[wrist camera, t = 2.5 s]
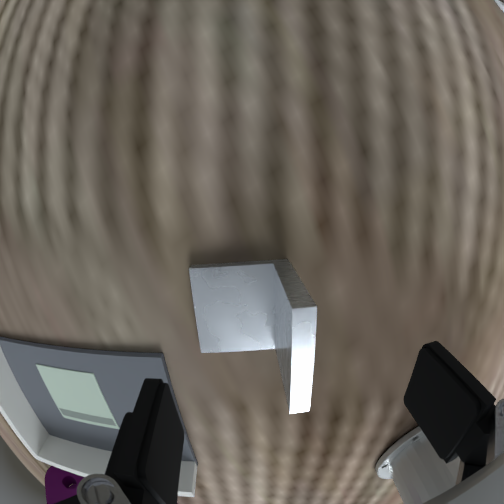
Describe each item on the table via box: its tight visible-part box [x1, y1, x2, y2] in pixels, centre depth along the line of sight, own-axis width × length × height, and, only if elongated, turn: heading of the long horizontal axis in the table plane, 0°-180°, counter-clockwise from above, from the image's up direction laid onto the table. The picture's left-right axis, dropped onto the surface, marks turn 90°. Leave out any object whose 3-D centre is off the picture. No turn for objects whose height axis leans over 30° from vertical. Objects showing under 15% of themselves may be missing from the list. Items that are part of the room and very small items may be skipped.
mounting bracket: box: [45, 466, 84, 504], centre depth 23 cm, size 9×8×18 cm
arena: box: [0, 337, 198, 497], centre depth 18 cm, size 20×15×5 cm
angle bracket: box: [189, 259, 317, 414], centre depth 15 cm, size 6×6×7 cm
